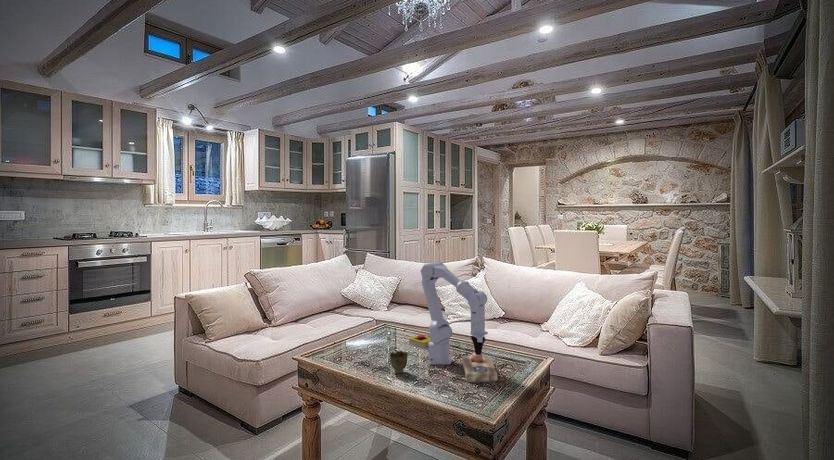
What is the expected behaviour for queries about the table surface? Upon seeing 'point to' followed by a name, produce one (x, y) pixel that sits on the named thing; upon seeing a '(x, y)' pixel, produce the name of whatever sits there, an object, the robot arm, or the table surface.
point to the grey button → (480, 369)
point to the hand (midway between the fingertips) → (478, 354)
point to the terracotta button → (476, 357)
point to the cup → (398, 361)
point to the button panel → (479, 376)
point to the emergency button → (420, 341)
